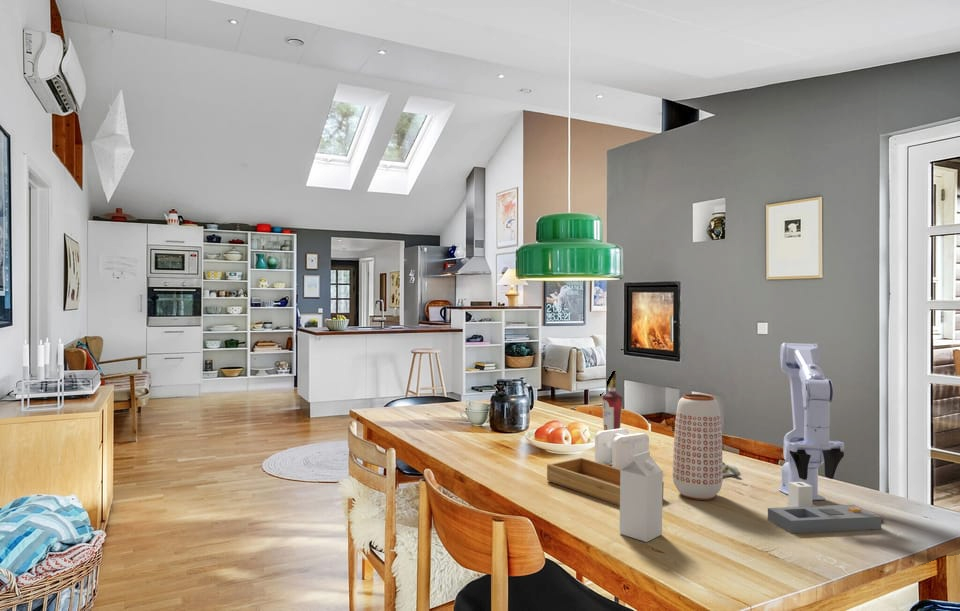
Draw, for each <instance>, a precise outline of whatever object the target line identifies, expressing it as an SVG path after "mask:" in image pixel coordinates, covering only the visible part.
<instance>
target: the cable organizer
mask: <svg viewBox="0 0 960 611" xmlns="http://www.w3.org/2000/svg"><path fill="white" fill-rule="evenodd" d="M648 451H650V437H649V435H648V434H647V433H643V432H638V433H632V434H630V433H629V430H628V429H626V428H624V427H623V428H621V427H620V429H612V430H605V431H604V430H599V431H597V432H596V433H595V435H594V461H595V462H598V463H601V464H605V465H608V466H610V464H611V466H612V467H615V468H618V469H623V468H624V467H626V466H627V465H628V464H630V463H631V462H632V461H633V456H635V455H638V454H641V453H645V452H648Z"/></svg>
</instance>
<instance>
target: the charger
mask: <svg viewBox="0 0 960 611" xmlns="http://www.w3.org/2000/svg"><path fill="white" fill-rule="evenodd" d="M812 494H813V486H811V485H808V484H806V483H804V482H789V492H788V495H787V496H788V499H787V500H788V502H787V504H788V506H787V507H806V506H813V500H812Z"/></svg>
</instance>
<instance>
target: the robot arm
mask: <svg viewBox="0 0 960 611" xmlns="http://www.w3.org/2000/svg"><path fill="white" fill-rule="evenodd" d="M779 350H780V351H779V355H780V356H779V357H780V359H779V360H780V368H781V372H782V373H784V374H786V375H787V377H788V381H789V385H790V398H791V400H790V402H791V411H792V412H791V413H792V426H793V427H792V428H793V429H792V430H790V431H788V432H786V434H784V437H783V448H782V449H783V451H782V452H783V458H784V461H785V462H784V464H782V468H781V484H780V485H781V486H780V487H781V488H778V491H779V492H781V493H784V494H785V495H787V496H788V492H789V482H804V483H806V484H808V485H811V486H813V494H812V501H817V500H818V501H819V500H820V501H821V500H822V501H823V500H826V497H824V496H822V495H820V494H818V493H819V492H818V491H819V488H818V487H819V468H821V466H823V464H824V476H825V477H826V478H828V479H831V480H832V479H834V478H835V474H836V471H837V468H838V465H839V464H840V462H841V461H842V459H843V458H844V456H845V452H844V451H845V442H843V441H839V440H830V429H831V428H830V425H831V423H830V422H831V418H830V416H831V403H832V402H833V400H834V385H833V381H832V380H831V378H830V379H829V378H826V377H825V374H824V372H823V369H822V368H821V367H820V366H819V362H820V360H821V350H820V346H819V344H818V343H816V342H815V343H797V342H796V343H795V342H793V343H791V342H782V344H780V349H779Z"/></svg>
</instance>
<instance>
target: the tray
mask: <svg viewBox="0 0 960 611" xmlns="http://www.w3.org/2000/svg"><path fill="white" fill-rule="evenodd" d="M546 466H547V467H546V480H547V481H548V482H551V483H553V484H556V485H560V486H562V487H564V488H568V489H571V490H573V491H576V492H578V493H582V494H584V495H587V496H590V497H593V498H596V499H599V500H601V501H604V502H606V503H609V504H613V505H615V506H618V507H620V470H622V469H618V468H615V467H612V465H605V464H601V463H598V462H595V460H592V459H587V458H583V457H577V458H572V459H567V460H562V461H558V462H557V461H556V462H554V463H552V462H551V463H548V464H547V465H546ZM663 486H664V481H663ZM663 499H664V490H663V491H662V500H663Z"/></svg>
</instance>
